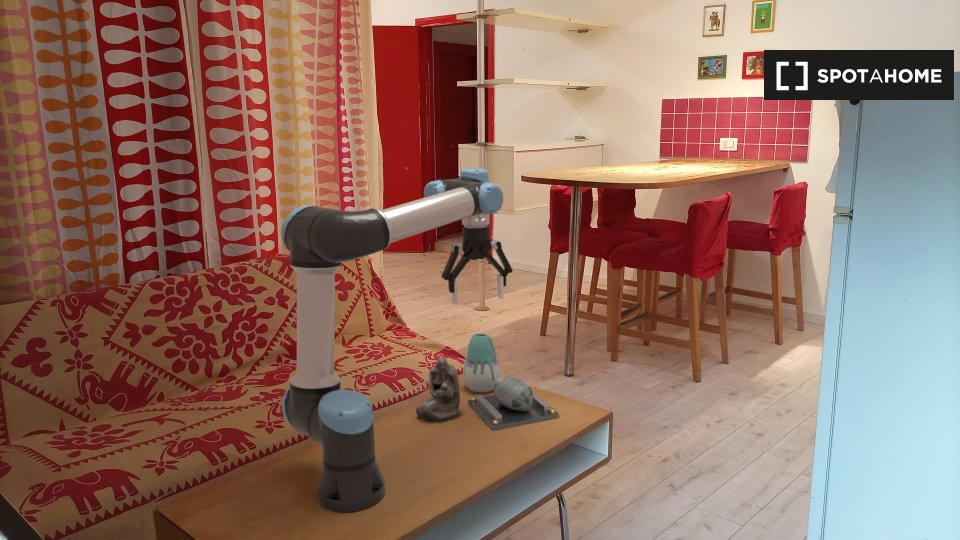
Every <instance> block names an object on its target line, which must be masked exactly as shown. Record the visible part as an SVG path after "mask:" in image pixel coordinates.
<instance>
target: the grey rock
mask: <svg viewBox="0 0 960 540" xmlns="http://www.w3.org/2000/svg"><path fill="white" fill-rule="evenodd" d="M532 391H533V390H532V388H531V385H529V384H528V383H527V382H526V381H525V380H523V379H521V378H517V377H515V376H511V375H510V376H509V375H508V376H507V375H505V376H500V378H498V379H497V380H496V381H495V384H494V389H493V395H494V396H495V399H496V400H497V402H498V403H500V404H501V405H503V406H505V407H507V408H510V409H513V410H516V411H527V410H529V409H530V408H531V407H532V404H533V393H532Z"/></svg>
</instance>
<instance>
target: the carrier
mask: <svg viewBox="0 0 960 540" xmlns="http://www.w3.org/2000/svg"><path fill="white" fill-rule="evenodd" d="M532 393H533V404H532V407H531V408H530V409H529V410H527V411H516V410H513V409H510V408H507V407H505V406H503V405H501V404H500V403H498V402H497V400H496V399H495V396H494V394H493V395H488V396H483V395H482V394H477V395H476V394H475V395H474V396H471V397H469V399H467V405H468V406H470V407H471V409H472V410H473V411H474V412H475V413H476V414H477V416H479V418H481V419H482V420H483V421H484V422H485V424H486V425H487V426H488V427H489V428H490V429H491V430H492V431H497V430H501V429H508V428H512V427H517V426H518V427H519V426H523V425H528V424H531V423H533V422H534V423H539V422H543V421H549V420H553V419H558V418H560V413H559V412H558V411H557V409H556V408H554V407H552V405H551V404H549V403H548V402H547V401H546V400H545V399H543V398H542V397H541V396H539V394H537V393H536V392H535V391H533V390H532Z"/></svg>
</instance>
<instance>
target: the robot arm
mask: <svg viewBox="0 0 960 540" xmlns="http://www.w3.org/2000/svg"><path fill="white" fill-rule="evenodd" d="M503 203H504V192H503V189H502V188H501V187H500V186H499V185H498V184H496V183H491V182H490V178H489V171H488V170H487V169H485V168H465V169H462V170H460V176H459V177H457V178H449V179H437V180H434V181H433V180H432V181H430V182H428V183H427V184H426V185H425V186H424V190H423V197H422V198H419V199H415V200H412V201H409V202H405V203H402V204H399V205H394V206H391V207H388V208H385V209H382V210H379V209H377V208H374V207H373V208H368V209H365V210H364V209H363V210H341V209H334V208H328V207H323V206H318V205H304V206H300V207H297V208H295V209H294V210H291V212H290V213H289V214H288V215H287V216H286V217H285V219H284V220H283V223H282V225H281V229H280V230H281V231H280V236H281V241H282V244H283V245H284V247H285V249H287V250H288V251H289V267H291V268H292V270H293V271H294V272H296V373H295V374H294V375H293V376H292V377H291V378H290V380H289V381H290V382H289V386H288V388H287V391H285V392H284V394H283V397H282V399H281V411H282V415H283V417H284V419H285V421H286V422H287V423H288V424H289V425H290V426H291V427H292V428H293V429H294V430H296V431H297V432H299V433H301V434H304V435H305V436H307V437H308V438H310V439H312V440H313V441H315V442H317V443H318V444H320V445H321V453H322V462H323V463H322V464H323V468H322V470H321V475H320V479H319V482H318V486H317V501H318V503H319V504H320V506H321V507H323V508H325V509H327V510H329V511H331V512H340V513H350V512H358V511H362V510H366V509H368V508H371V507H372V506H375V505H376V504H378V503H379V502H380V501H381V500H382V499H384V496H385V494H386V482H385V479H384V476H383V475H382V472H381V470H380V468H379V464H378V462H377V461H376V460H377V459H376V446H375V430H374V429H375V426H374V419H375V417H374V416H375V415H374V412H373V407H372V406H373V405H372V402H371V400H370V399H369V397H368V396H367V395H365V394H364V393H362V392H360V391H358V390H353V389H352V390H348V389H341V377H340V376H339V375H338V374H337V373H336V372H335V307H336V306H335V300H336V299H335V298H336V297H335V291H336V290H335V285H336V284H335V282H336V278H335V277H336V272H337V271H338V270H339V269H340V268H341V267H342V264H343V263H346V262H350V261H354V260H357V259H362V258H364V257H365V258H366V257H368V256H370V255H372V254H376V253H379V252H381V251H385V250H387V249H388V248H389V247H390V244H391V243H395V242H398V241H400V240H403V239H406V238H409V237H412V236H415V235H418V234H421V233H424V232H425V233H426V232H427V231H430V230H433V229H436V228H440V227H443V226H445V225H449V224H451V223H455V222H457V221H460V220H461V225H463V227H461V228H462V229H461V230H462V244H461V245H459V244H452V245H451V251H450V255H449V257H448V259H447V261H446V264H445V266H444V268H443V272H442V273H441V276H440V277H441V278H442V279H443V280H445V281H448V282H447V283H448V291H449V293H451V303H452V304H453V305H455V306H457V305H459V291H458V289H459V288H458V281H457V280H456V279H457V277H459V275H460V273H461V272H462V270H463V269H464V268H465V266H466V265H467V264H468V263H469V262H470V261H477V260H484V259H486V260H487V261H488V262H489V263H490V264H491V265H492V267H494V269H495V270H496V271H497V272H498V273H499V274H497V275H496V284H497V285H496V287H497V288H496V289H497V292H496V293H497V298H499V299H500V300H504V296H505V295H504V293H505V292H504V291H505V290H504V287H506V286H507V276H508V275H509V274H511V273H513V271H514V269H513V268H512V267H511V264H510V262H509V260H508V258H507V256H506V255H505V252H504V251H503V247H502V242H501V241H498V240H497V239H495V240H494V241H491V228H490V226H489V224H490V215H493V214H496V213H497V212H499V211H500V210H501V209H502V207H503ZM491 249H493V250H494V251H495V252H496V253H495V254H496V255H497V256H498V258H499V260H500V262H501V264H502V266H501V264H500V263H499V262H498V261H497V260H496V258H494V257H493V255H492V254H491V253H490V251H491ZM461 252H463V254H462V255H461V257H460V260H459V261H457V259H458V257H459V254H461ZM456 261H457V264H456V265H455V263H456ZM454 265H455V266H454Z"/></svg>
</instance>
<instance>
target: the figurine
mask: <svg viewBox="0 0 960 540" xmlns="http://www.w3.org/2000/svg"><path fill="white" fill-rule="evenodd" d="M428 374H429V376H428V377H429V379H428V380H429V381H428V382H429V394H430V396H431V397H432V398H429V399H426V400H423V401H422V402H421V403H419V404H418V405H417V406H416V408H415V413H416V416H417V418H418V419H420V420H423V421H425V422H429V423H431V422H432V423H445V422H448V421H449V420H453V419H456V418H459V417H460V416H461V415H463V412H462V410H461V409H459V408H460V402H461V396H460V395H461V394H460V393H461V389H460V387H461V386H460V380H459V376H458V375H459V373H458V369H456V367H455V366H453V365H451V364H449V363H448V361H447V358H446V357H444V356H440V357H439V358H438V359H437V361H435V364H434V366H432V367H431V368H430V370H429V373H428Z"/></svg>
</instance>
